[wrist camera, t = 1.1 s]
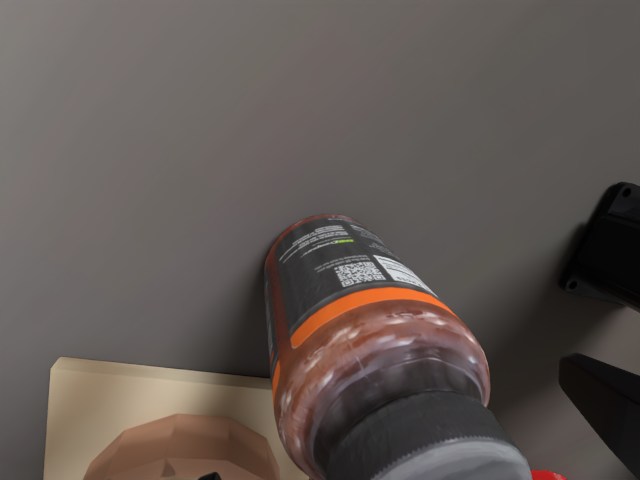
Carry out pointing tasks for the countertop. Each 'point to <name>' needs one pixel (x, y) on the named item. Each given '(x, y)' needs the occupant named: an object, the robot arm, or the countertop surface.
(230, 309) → the countertop surface
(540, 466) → the countertop surface
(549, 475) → the kitchen timer
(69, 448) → the collar stand
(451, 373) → the supplement bottle
